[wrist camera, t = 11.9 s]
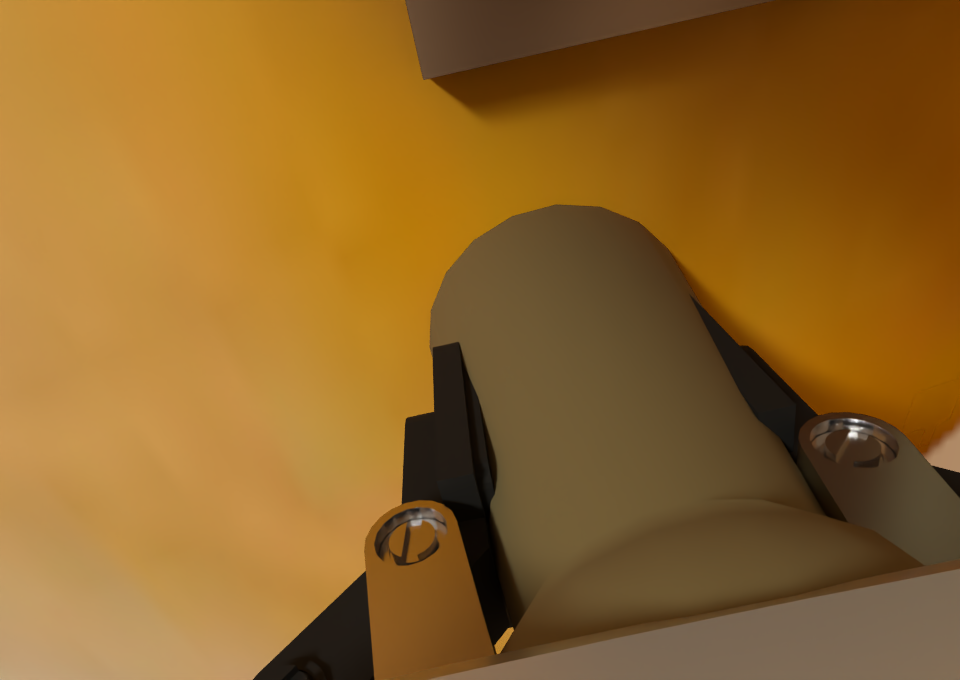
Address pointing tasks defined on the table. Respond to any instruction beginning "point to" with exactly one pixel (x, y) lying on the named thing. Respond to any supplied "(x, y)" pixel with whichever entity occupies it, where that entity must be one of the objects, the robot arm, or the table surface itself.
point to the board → (534, 26)
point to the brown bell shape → (625, 439)
